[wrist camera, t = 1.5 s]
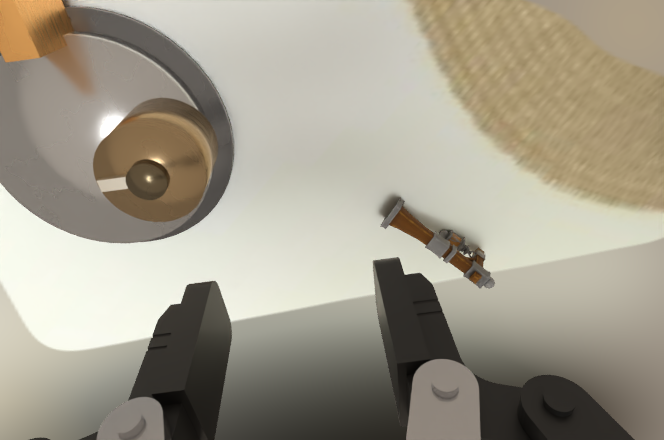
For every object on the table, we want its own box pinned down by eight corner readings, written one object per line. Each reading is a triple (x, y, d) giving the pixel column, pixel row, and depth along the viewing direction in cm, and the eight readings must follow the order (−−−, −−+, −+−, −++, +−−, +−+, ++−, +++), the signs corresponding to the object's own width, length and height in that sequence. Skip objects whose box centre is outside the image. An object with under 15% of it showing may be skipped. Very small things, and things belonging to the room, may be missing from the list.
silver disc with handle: (236, 219, 28) (227, 254, 25) (51, 243, 28) (19, 282, 25) (151, -84, 19) (122, -88, 16) (-115, -46, 20) (-196, -43, 16)
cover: (204, 91, 23) (184, 123, 19) (227, 178, 25) (215, 221, 21) (107, 104, 23) (67, 138, 19) (141, 189, 25) (113, 235, 21)
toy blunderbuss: (483, 270, 32) (484, 302, 28) (391, 206, 32) (379, 227, 28) (500, 252, 31) (503, 282, 27) (405, 187, 31) (395, 206, 27)
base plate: (196, -12, 22) (194, -11, 21) (255, 224, 29) (255, 227, 29) (-83, 26, 22) (-90, 28, 21) (48, 251, 29) (45, 255, 29)
